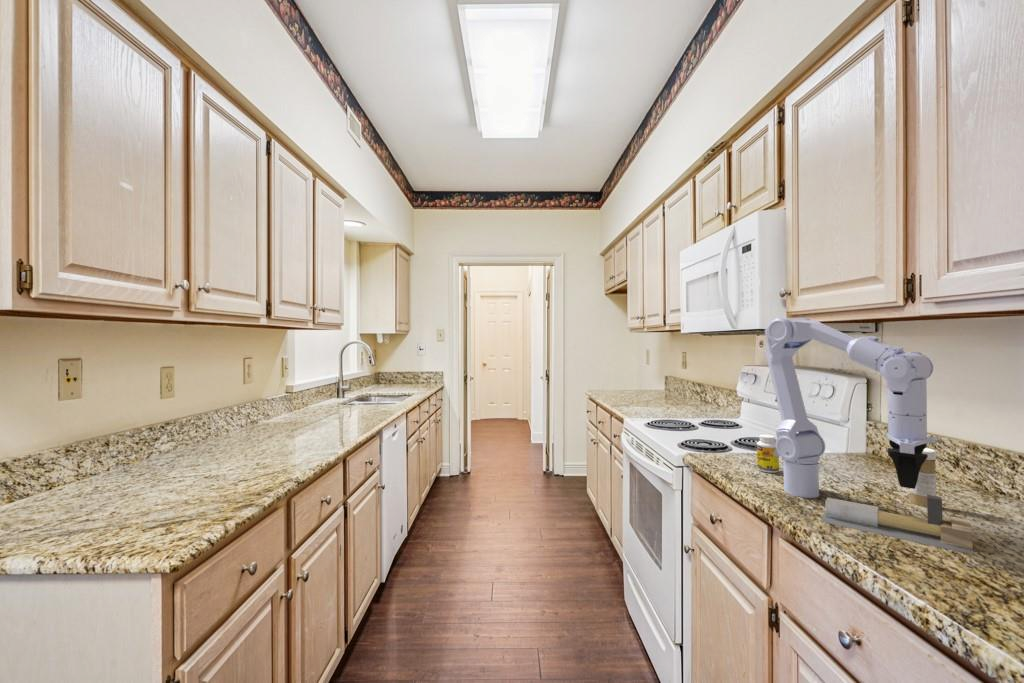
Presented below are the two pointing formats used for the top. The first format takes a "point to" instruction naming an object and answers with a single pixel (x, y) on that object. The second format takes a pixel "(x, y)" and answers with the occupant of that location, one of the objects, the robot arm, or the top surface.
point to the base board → (898, 534)
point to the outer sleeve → (852, 512)
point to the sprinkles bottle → (925, 480)
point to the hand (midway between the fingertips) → (907, 482)
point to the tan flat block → (917, 524)
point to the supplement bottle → (767, 454)
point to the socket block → (957, 532)
